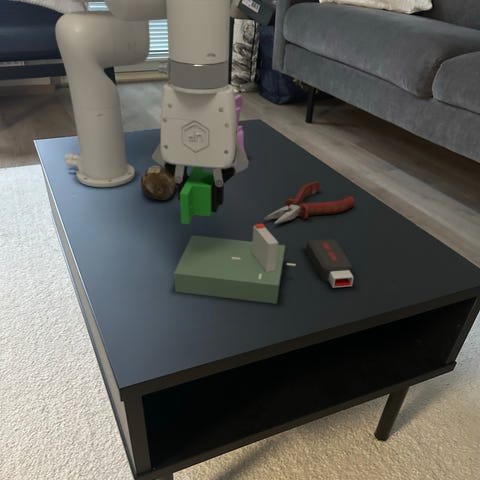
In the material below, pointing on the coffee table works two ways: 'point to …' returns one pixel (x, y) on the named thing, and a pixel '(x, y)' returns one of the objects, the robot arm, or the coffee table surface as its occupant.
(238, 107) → the toy chair
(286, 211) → the pliers
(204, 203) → the pipe clamp
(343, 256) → the usb drive
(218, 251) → the green rectangular block
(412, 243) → the coffee table surface
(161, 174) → the brown rock
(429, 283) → the coffee table surface
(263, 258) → the square jaw plate
